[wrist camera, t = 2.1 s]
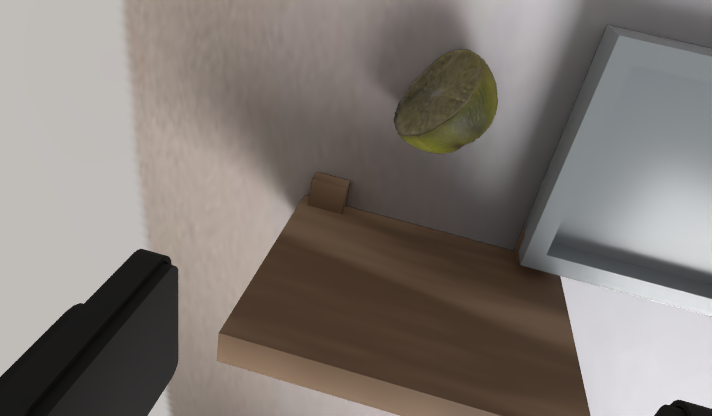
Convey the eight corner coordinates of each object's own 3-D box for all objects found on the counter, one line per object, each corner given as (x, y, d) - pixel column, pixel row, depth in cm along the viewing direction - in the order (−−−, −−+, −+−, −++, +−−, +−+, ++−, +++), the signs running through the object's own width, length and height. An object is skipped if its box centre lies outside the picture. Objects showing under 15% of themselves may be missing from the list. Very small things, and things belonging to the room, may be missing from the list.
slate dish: (735, 298, 29) (754, 328, 27) (517, 240, 30) (520, 265, 28) (886, 88, 23) (926, 105, 21) (607, 24, 24) (619, 35, 22)
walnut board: (536, 305, 32) (563, 493, 22) (297, 240, 33) (214, 388, 23) (568, 238, 29) (615, 414, 19) (308, 169, 31) (221, 300, 20)
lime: (394, 119, 28) (379, 157, 24) (420, 28, 26) (408, 51, 21) (476, 143, 28) (475, 186, 24) (510, 53, 25) (516, 82, 21)
